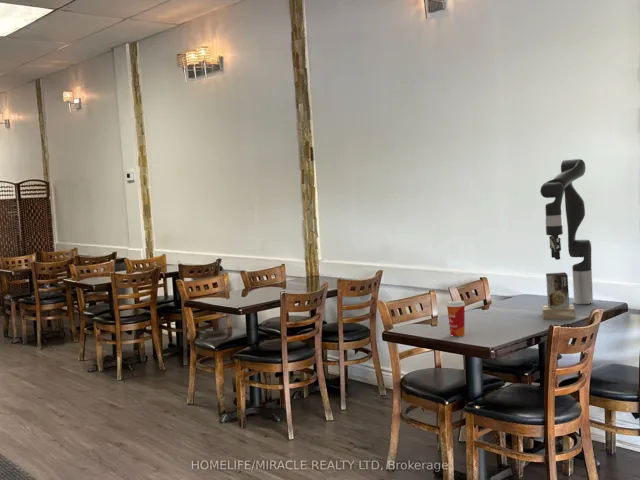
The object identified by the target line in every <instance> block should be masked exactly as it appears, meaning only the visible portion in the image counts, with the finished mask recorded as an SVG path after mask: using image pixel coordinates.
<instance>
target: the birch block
mask: <svg viewBox="0 0 640 480" xmlns="http://www.w3.org/2000/svg"><path fill="white" fill-rule="evenodd" d="M542 316H543V320H565V319H566V320H568V319H569V320H570V319H571V320H575V319H576V310H575V306H574V304H572V303H569V307H568V308H551V309H550V308H549V307H548V304H542Z"/></svg>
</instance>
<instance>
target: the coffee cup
mask: <svg viewBox="0 0 640 480" xmlns="http://www.w3.org/2000/svg"><path fill="white" fill-rule="evenodd" d="M465 306H466V304H465V301H463V300H450V301H447V302H446V307H447V316H448V325H449V333H450V336H451V335H453V336H461V337H464V336H465V324H466V323H465V315H466V314H465V312H466V311H465V308H466V307H465ZM463 335H464V336H463ZM453 336H452V337H453Z"/></svg>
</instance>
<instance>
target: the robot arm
mask: <svg viewBox="0 0 640 480" xmlns="http://www.w3.org/2000/svg"><path fill="white" fill-rule="evenodd" d="M585 173H586V163H585V161H584V160H583V159H581V158H576V159H575V158H574V159H564V160H562V162H561V164H560V173H559V174H557V175H556V176H554V177H553V178H552V179H550V180H548V181H545V182H544V183H543V184H542V185H541V187H540V195H541V196H542V197H543V198H546V199H553V198H554V200H553V201H552V202H548V203H546V204H545V234H546V236H549V248H550V250H551V251H550V253H551V258H552V259H553V258H554V260H561V251H562V244H561V237H559V236H561V235H563V233H564V230H563V229H564V228H563V227H564V226H563V216H562V202H563V199H564V207H565V216H566V224H567V246H568V247H567V248H568V249H567V250H568V254H569V256H570V257H571V258H583V260H581V261H580V262H578V263H574V264H573V265H572V267H571V268H572V287H573V290H572V291H573V303H574V304H576V305H591V304H593V303H594V297H593V296H594V294H593V293H594V291H593V275H592V242H591V241H590V239H577V238H576V235H577V231H578V229H579V227H580V225H581V223H582V222H583V220H584V218H585V216H586V208H585V207H586V205H585V202H584V199H583V197H582V196H581V195H580V193H579V192H578V191H577V190H576V188H575V187H574V185H573V182H574V181H576V180H578V179H579V178H582V177H583V176H584V175H585ZM563 197H564V198H563ZM590 303H591V304H590Z"/></svg>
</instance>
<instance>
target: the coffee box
mask: <svg viewBox="0 0 640 480" xmlns="http://www.w3.org/2000/svg"><path fill="white" fill-rule="evenodd" d="M568 276H569V275H568V274H567V272H552V273H551V272H550V273H548V272H547V273H545V278H546V296H547V305H548V307H549V308H550V309H551V308H568V307H569V304H570V298H569V297H570V294H569V293H570V292H569V277H568Z"/></svg>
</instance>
